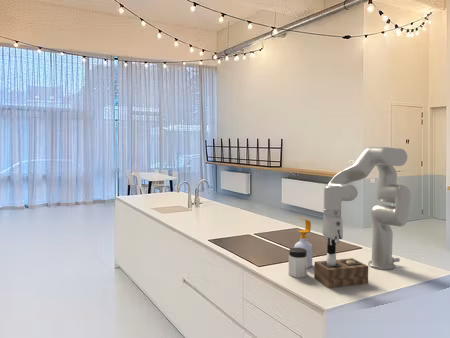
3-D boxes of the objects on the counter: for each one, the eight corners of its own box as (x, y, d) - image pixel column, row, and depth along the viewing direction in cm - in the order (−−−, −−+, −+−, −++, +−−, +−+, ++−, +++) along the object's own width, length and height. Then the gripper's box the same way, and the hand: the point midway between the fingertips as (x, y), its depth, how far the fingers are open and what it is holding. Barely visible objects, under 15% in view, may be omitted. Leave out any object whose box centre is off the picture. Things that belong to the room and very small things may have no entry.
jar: (284, 273, 181) (285, 249, 181) (296, 270, 186) (297, 246, 185) (298, 279, 174) (299, 253, 173) (310, 275, 179) (311, 250, 178)
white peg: (332, 268, 172) (333, 252, 172) (337, 271, 169) (337, 254, 168) (324, 269, 171) (325, 253, 171) (329, 272, 167) (329, 255, 167)
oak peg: (351, 276, 175) (351, 260, 175) (356, 279, 172) (357, 262, 171) (343, 277, 174) (344, 260, 174) (349, 280, 170) (349, 263, 170)
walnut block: (352, 274, 180) (352, 257, 179) (367, 283, 169) (368, 265, 168) (314, 278, 175) (314, 260, 174) (328, 288, 163) (328, 269, 163)
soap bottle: (290, 263, 197) (291, 217, 195) (305, 261, 200) (306, 215, 198) (300, 268, 188) (300, 220, 187) (315, 266, 192) (316, 219, 190)
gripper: (349, 215, 162) (348, 257, 163) (330, 209, 176) (329, 248, 178) (333, 216, 160) (332, 258, 161) (316, 210, 174) (315, 249, 176)
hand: (331, 253), depth 169 cm, fingers closed
